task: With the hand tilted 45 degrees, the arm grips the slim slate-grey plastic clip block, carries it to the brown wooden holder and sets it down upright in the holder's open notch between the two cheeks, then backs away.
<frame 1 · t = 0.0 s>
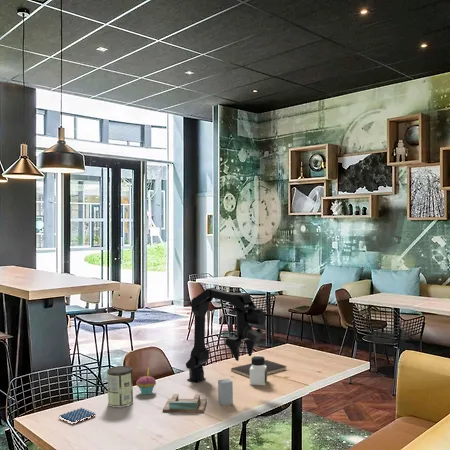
hand: (243, 358, 211), 15 cm above the table, tool pointing down, fingers open, 9 cm apart
coffee can: (120, 403, 200), on the table
medicine bottle: (258, 383, 223), on the table
cupcake: (146, 393, 212), on the table
woven mat: (77, 419, 185), on the table
hardcover book: (259, 371, 242), on the table
brown wooden holder: (185, 406, 194), on the table
clip block: (225, 402, 198), on the table
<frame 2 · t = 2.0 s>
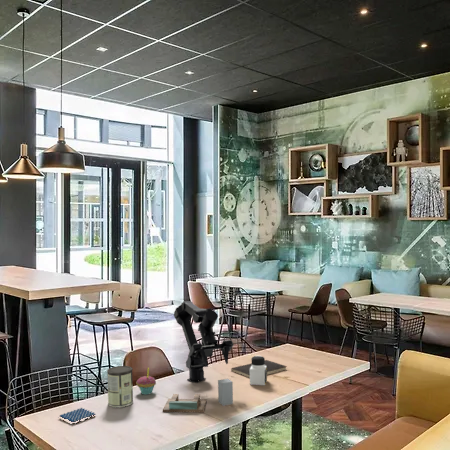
hand: (217, 365, 205), 13 cm above the table, tool tilted 45°, fingers open, 9 cm apart
nothing on the table moved.
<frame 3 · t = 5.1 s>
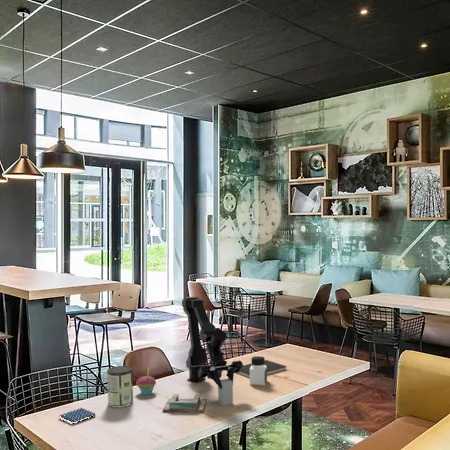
hand: (226, 387, 197), 7 cm above the table, tool tilted 45°, fingers closed on clip block, 4 cm apart
clip block: (225, 402, 198), on the table, touching gripper
everything else where it was.
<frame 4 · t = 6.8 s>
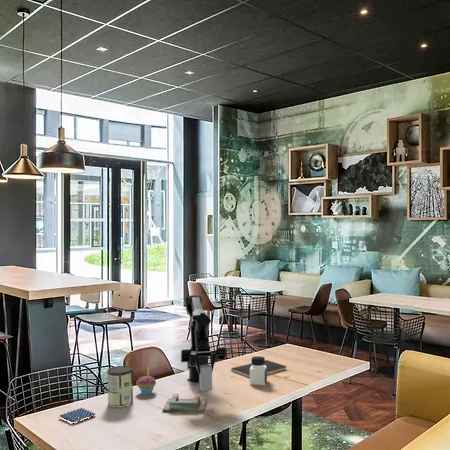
hand: (205, 373, 194), 13 cm above the table, tool tilted 45°, fingers closed on clip block, 4 cm apart
clip block: (205, 388, 195), point 7 cm above the table, touching gripper
everything else where it was.
when the fingers open (9 cm above the table, at t = 8.8 s): clip block drops 1 cm, resting on brown wooden holder.
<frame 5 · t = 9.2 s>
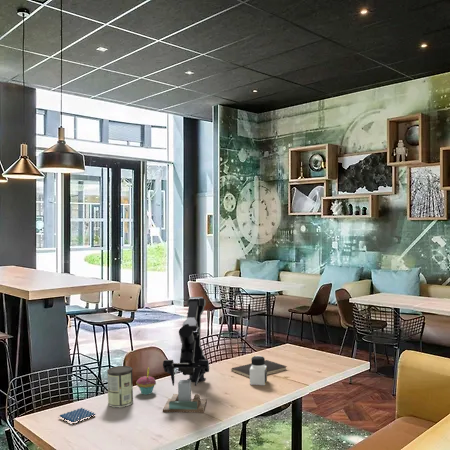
hand: (184, 385, 193), 9 cm above the table, tool tilted 45°, fingers open, 9 cm apart
clip block: (184, 404, 194), point 1 cm above the table, touching brown wooden holder
everything else where it was.
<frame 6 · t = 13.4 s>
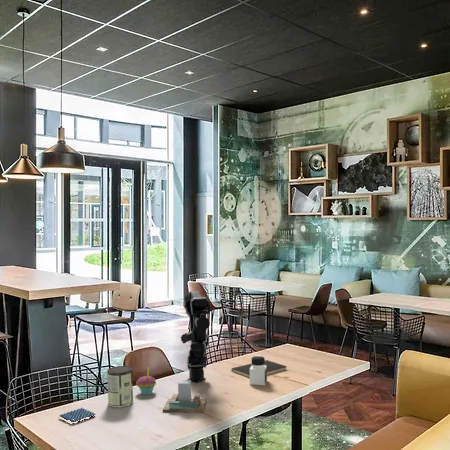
hand: (200, 361, 213), 13 cm above the table, tool pointing down, fingers open, 9 cm apart
nothing on the table moved.
at the end: clip block 0.1 cm from the brown wooden holder (horizontally); clip block tilted 0°; clip block point 1.0 cm above the table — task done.
